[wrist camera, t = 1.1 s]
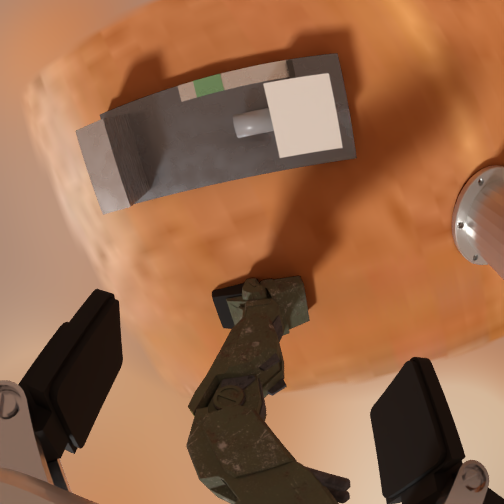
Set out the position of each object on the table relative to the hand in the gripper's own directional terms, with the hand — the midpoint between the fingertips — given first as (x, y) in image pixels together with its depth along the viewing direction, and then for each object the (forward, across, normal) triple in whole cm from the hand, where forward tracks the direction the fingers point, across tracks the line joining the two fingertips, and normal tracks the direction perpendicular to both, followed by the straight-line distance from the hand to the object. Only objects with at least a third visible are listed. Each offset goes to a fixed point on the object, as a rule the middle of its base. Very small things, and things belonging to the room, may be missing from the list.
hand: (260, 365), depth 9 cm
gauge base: (+24, +6, -4) cm, 25 cm away
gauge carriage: (+22, +1, -7) cm, 23 cm away
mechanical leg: (+24, -3, +15) cm, 28 cm away
